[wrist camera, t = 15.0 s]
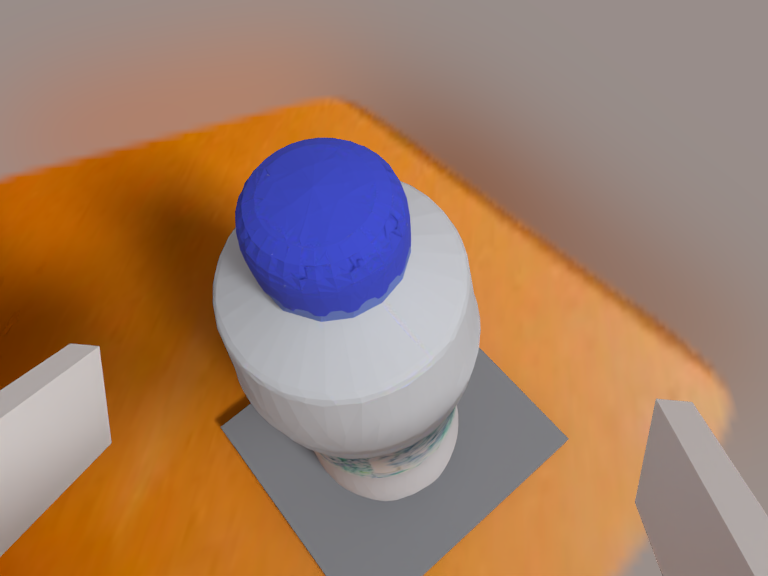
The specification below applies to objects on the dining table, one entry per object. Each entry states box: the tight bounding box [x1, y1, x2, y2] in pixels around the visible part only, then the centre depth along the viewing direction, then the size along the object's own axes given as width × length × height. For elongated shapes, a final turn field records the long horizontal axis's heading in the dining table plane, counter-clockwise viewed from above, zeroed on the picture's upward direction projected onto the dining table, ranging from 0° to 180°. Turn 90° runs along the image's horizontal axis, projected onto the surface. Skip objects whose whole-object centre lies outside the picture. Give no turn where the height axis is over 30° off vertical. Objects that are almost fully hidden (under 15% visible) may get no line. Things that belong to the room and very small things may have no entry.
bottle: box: [213, 138, 480, 501], centre depth 20 cm, size 7×7×20 cm
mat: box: [221, 348, 568, 576], centre depth 29 cm, size 11×12×1 cm
